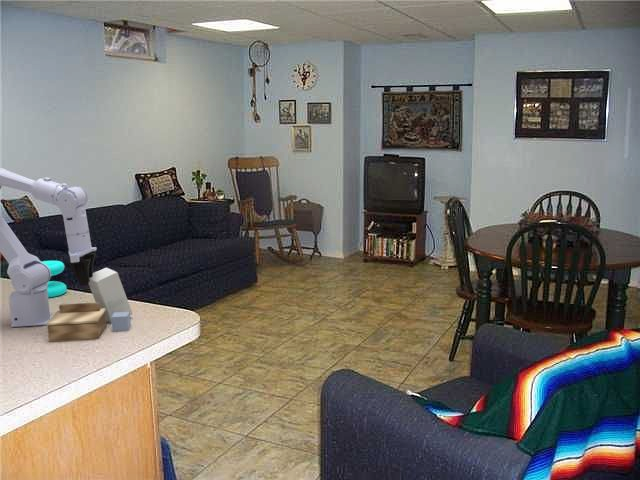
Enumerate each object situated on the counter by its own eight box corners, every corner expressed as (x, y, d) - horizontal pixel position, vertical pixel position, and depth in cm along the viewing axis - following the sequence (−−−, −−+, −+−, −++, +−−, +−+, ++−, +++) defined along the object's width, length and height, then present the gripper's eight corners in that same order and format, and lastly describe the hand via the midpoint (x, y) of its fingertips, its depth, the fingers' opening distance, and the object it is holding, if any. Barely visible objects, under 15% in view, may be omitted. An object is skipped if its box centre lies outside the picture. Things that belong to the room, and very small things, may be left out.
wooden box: (49, 341, 167) (47, 326, 167) (59, 328, 177) (58, 313, 176) (98, 338, 169) (97, 323, 168) (106, 325, 178) (105, 311, 178)
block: (112, 331, 174) (111, 317, 173) (115, 326, 178) (114, 312, 177) (128, 330, 174) (127, 316, 173) (131, 326, 178) (129, 311, 177)
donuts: (22, 265, 206) (47, 258, 215) (25, 297, 208) (50, 288, 217) (46, 268, 202) (70, 261, 210) (49, 300, 204) (74, 291, 212)
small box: (133, 314, 184) (118, 271, 179) (112, 325, 181) (96, 281, 176) (121, 307, 190) (106, 266, 186) (100, 318, 187) (84, 276, 182)
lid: (46, 325, 166) (45, 315, 166) (57, 312, 177) (56, 303, 176) (97, 322, 168) (96, 312, 167) (106, 310, 178) (105, 300, 177)
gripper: (86, 236, 169) (95, 288, 172) (99, 226, 183) (106, 274, 186) (58, 239, 169) (67, 291, 171) (72, 229, 183) (80, 277, 185)
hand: (86, 283), depth 179 cm, fingers open, 4 cm apart
